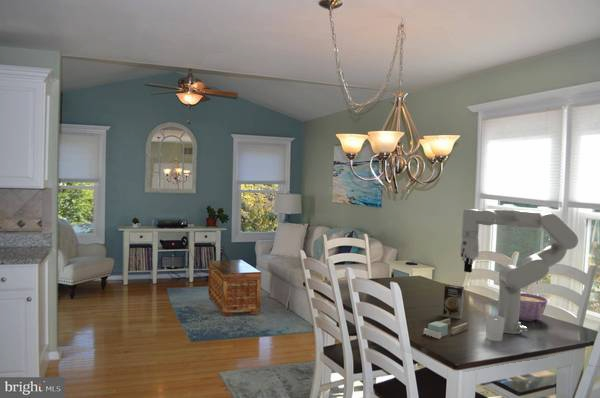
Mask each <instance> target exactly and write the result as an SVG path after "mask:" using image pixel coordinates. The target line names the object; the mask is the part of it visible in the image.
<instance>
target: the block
mask: <svg viewBox="0 0 600 398" xmlns="http://www.w3.org/2000/svg"><path fill="white" fill-rule="evenodd" d="M427 326H428V327H427V329H430V330H433V331H437V332H441V338H442V337H445V336H448V332H449V330H448V329H449V325H448V324H445V323H441V322H439V321H436V320H435V321H433V322H430V323H428V325H427Z"/></svg>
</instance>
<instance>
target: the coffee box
mask: <svg viewBox="0 0 600 398" xmlns="http://www.w3.org/2000/svg"><path fill="white" fill-rule="evenodd" d="M464 296H465V286H461V285H454V284H446V285H445V286H444V295H443V308H442V309H443V310H442V316H443V317H444V318H449V319H457V320H461V319H462V317H463V311H464V310H463V309H464V308H463V307H464Z"/></svg>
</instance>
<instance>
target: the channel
mask: <svg viewBox="0 0 600 398" xmlns="http://www.w3.org/2000/svg"><path fill="white" fill-rule="evenodd" d="M451 319H452V318H450V317H447V318H445V319H442V320H438V322H441V323H445V324H448V326H451V321H452V320H451ZM468 330H469V323H468V322H464V323H461V324H458V325H455V326H453V327H451V329H450V335H451V336H454V335H457V334H460V333H462V332H464V331H468Z"/></svg>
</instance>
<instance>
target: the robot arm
mask: <svg viewBox="0 0 600 398" xmlns="http://www.w3.org/2000/svg"><path fill="white" fill-rule="evenodd" d="M479 225H483V226H492V225H499V226H507V227H511V228H516V229H525V230H526V229H527V230H542V231H545V232H546V233H547V234H548V235H549V236H550V241H549V243H548V245H547V246H546V247H545V248H543V249H542V250H540V251H538V252H535V253H533V254H531V255H528V256H526V257H524V259H522V261H521V265H520V266H516V265H513V264H506V265H504V266H503V267H502V268H501V269H500V271H499V274H498V282H499V284H498V285H499V286H498V288H499V292H498V293H499V294H498V306H497V307H498V308H497V316H501V317H503V318H505V322H504V330H503V334H508V335H509V334H510V335H511V334H512V335H517V334H518V335H519V334H521V333H522V332H528V327H527V326H525V325H522V322H521V321H520V319H519V311H520V297H521V293H522V289H523V288H525V287H528V286H530V285H531V284H534V283H536V282H538V281H540V280H542V279H544V278H545V277H546V276H547V275H548V273H549V271H550V268H551V267H553V266H555V265H557V264H558V263H559V262H561V261H562V260H563V259H564V258H565V256H566V254H567V252H568V250H573V249H575V248H576V247H577V246H578V243H579V238H578V236H577V234H576V233H575V232H574V231H573V230H572V229H571V228H570V227H569V226H568V225H567V224H566V223H565V222H564V221H563V220H562V219H561V218H560V217H559V216H558V215H556V214H554V213H551V212H549V211H547V212H546V211H536V210H535V211H534V210H520V209H511V210H510V209H492V208H481V210H479V209H475V208H465V209H463V212H462V227H461V242H460V243H461V244H460V257H461V258H462V259H461V260H462V261H463V264H464V266H463V272H465V273H472V272H473V264H474V263H473V262H474V260H475V259H477V258H478V257H479V251H480V250H479V249H480V248H479V227H480V226H479Z"/></svg>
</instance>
